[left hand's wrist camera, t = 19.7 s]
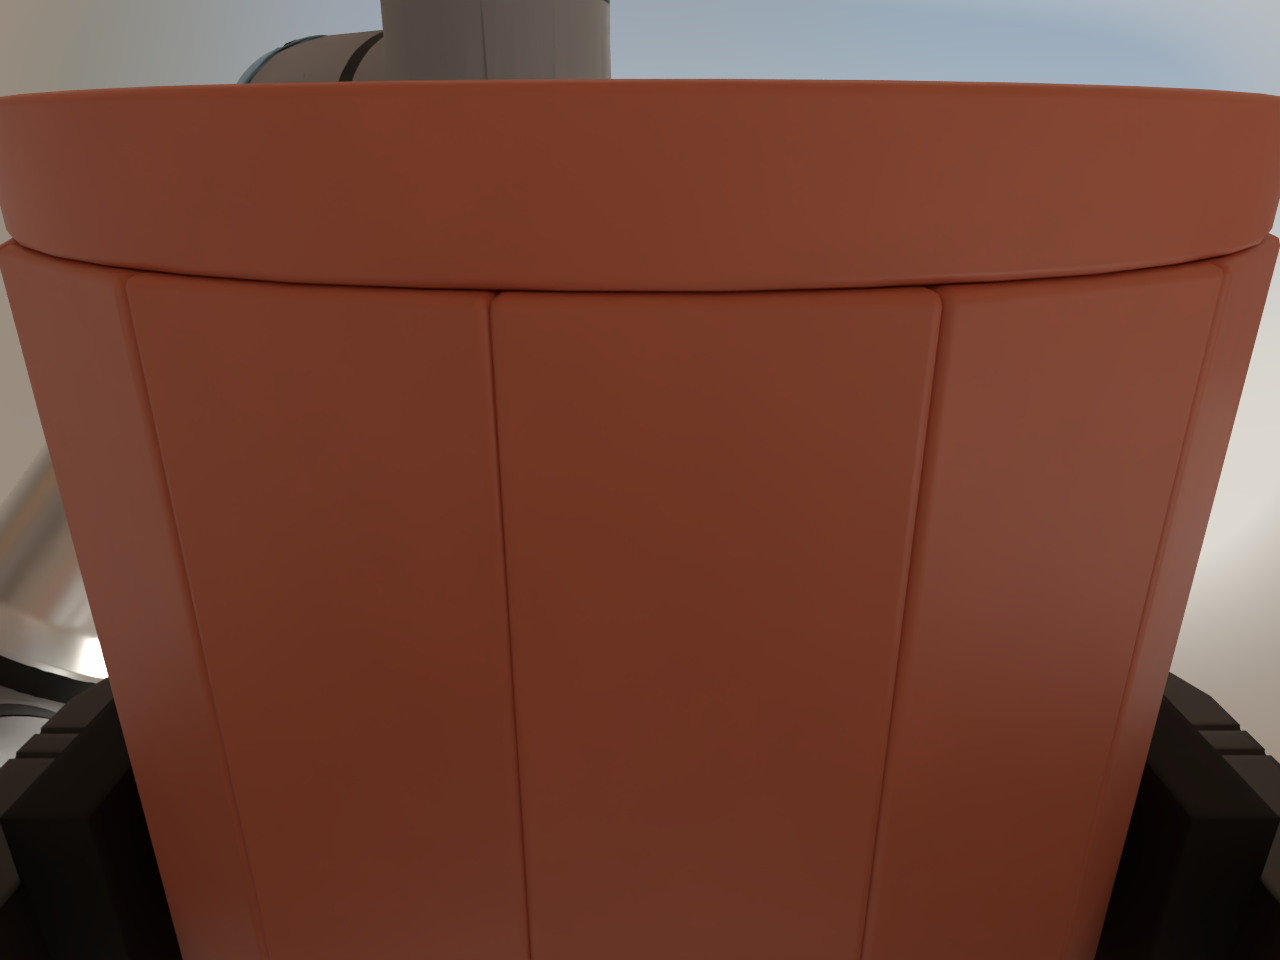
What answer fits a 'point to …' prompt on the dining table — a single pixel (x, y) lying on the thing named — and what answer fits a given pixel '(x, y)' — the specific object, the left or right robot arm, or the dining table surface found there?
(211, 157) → the terracotta flower pot
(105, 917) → the left robot arm
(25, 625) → the right robot arm
